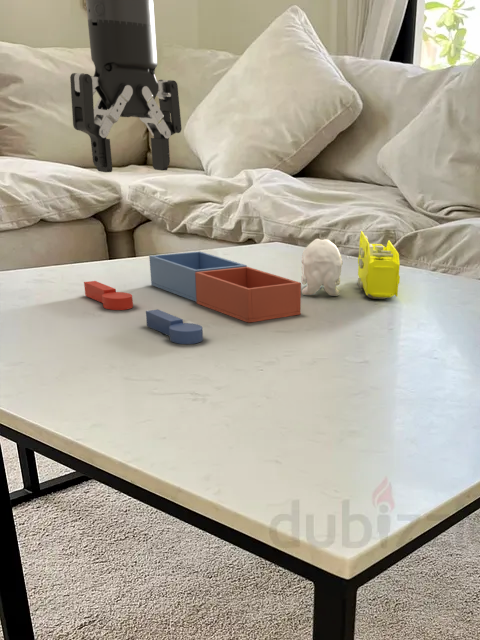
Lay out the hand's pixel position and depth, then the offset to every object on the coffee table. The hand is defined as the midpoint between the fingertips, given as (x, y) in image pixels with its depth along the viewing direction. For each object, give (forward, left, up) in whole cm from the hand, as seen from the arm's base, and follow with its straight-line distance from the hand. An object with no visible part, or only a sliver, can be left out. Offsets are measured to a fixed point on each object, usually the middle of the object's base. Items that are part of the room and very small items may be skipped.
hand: (133, 170), depth 98 cm
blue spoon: (-2, -11, -18) cm, 21 cm away
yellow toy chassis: (+40, -5, -18) cm, 44 cm away
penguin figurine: (+31, -1, -18) cm, 36 cm away
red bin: (+14, -5, -18) cm, 23 cm away
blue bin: (+15, +9, -18) cm, 25 cm away
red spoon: (-1, +8, -18) cm, 20 cm away
